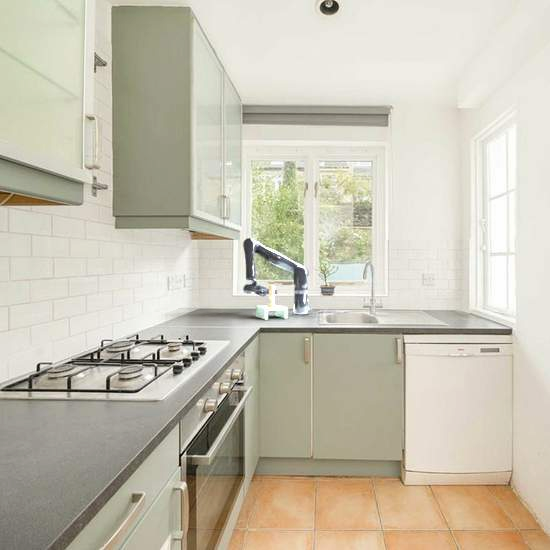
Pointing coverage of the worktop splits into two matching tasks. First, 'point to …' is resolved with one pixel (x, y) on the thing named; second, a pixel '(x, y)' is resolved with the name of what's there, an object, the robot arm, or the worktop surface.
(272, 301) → the stick
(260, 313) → the shelf
